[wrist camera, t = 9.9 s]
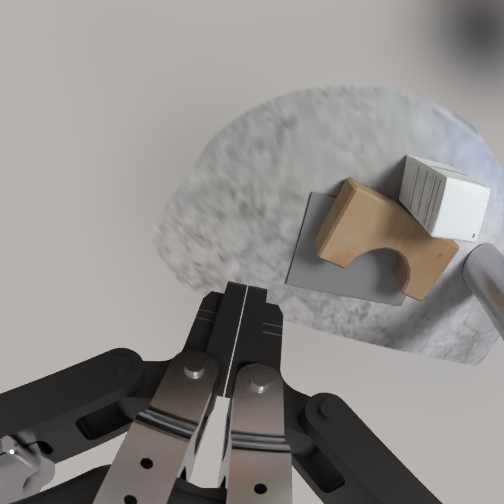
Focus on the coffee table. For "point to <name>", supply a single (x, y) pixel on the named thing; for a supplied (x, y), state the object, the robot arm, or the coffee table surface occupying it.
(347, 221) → the decorative block
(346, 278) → the mat
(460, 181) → the supplement box
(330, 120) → the coffee table surface
